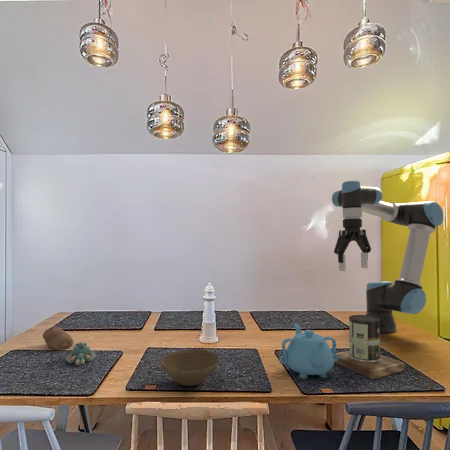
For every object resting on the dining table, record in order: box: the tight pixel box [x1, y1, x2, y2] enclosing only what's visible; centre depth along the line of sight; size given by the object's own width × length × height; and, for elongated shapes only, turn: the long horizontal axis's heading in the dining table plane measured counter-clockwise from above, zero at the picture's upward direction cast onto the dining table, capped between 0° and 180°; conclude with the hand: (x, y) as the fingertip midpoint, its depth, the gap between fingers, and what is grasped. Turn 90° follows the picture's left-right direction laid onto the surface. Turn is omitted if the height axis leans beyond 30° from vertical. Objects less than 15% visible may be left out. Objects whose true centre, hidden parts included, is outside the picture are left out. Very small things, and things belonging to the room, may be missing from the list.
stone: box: [42, 325, 74, 351], centre depth 148 cm, size 12×9×10 cm
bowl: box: [159, 349, 220, 387], centre depth 112 cm, size 18×18×8 cm
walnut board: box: [333, 350, 406, 380], centre depth 127 cm, size 16×18×2 cm
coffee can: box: [348, 314, 381, 362], centre depth 129 cm, size 10×10×14 cm
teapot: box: [279, 323, 338, 380], centre depth 122 cm, size 16×20×14 cm
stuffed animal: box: [64, 341, 97, 366], centre depth 132 cm, size 11×7×12 cm
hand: (353, 269), depth 150 cm, fingers open, 13 cm apart
